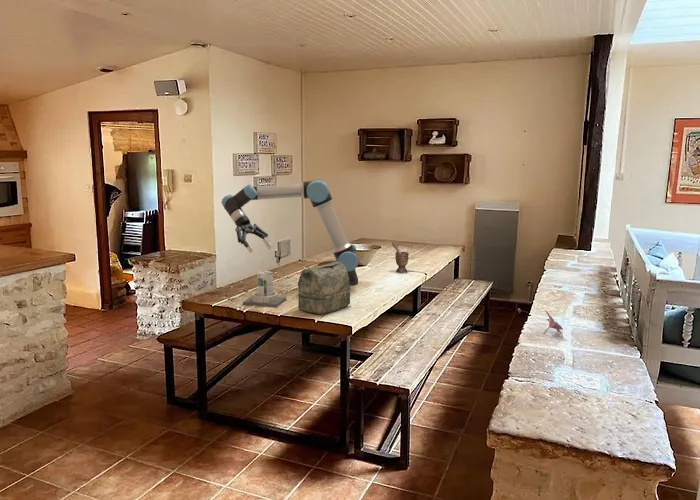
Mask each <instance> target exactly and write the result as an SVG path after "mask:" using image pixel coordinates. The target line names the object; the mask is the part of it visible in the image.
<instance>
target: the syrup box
mask: <svg viewBox="0 0 700 500" xmlns="http://www.w3.org/2000/svg"><path fill="white" fill-rule="evenodd" d="M273 273H274V272H273V271H267V270H259V271H257V274H256V275H257V277H256V278H257V292H258V296H263V297H264V296H272V295H273V291H274V287H273V285H274V284H273V282H274V281H273V280H274V279H273V276H274V275H273Z"/></svg>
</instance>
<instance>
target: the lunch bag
mask: <svg viewBox="0 0 700 500" xmlns="http://www.w3.org/2000/svg"><path fill="white" fill-rule="evenodd" d="M297 289H298V293H297V296H298V297H297V298H298V303H297V304H298V306H297V307H298V310H299V311H301V312H306V313H311V314H316V315H320V316H321V315H326V314H329V313H332V312H334V311H335V312H336V311H339V310H340V309H342V308H346V307H348V306H350V305H351V285H350V283H349V277H348V273H347V270H346V267H345V266H344V264H342V263H341V262H336V261H333V262H330V263H327V264H322V265H317V266H315V267H307V268H303V269H302V270H301V272H300V275H299V278H298V282H297Z"/></svg>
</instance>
